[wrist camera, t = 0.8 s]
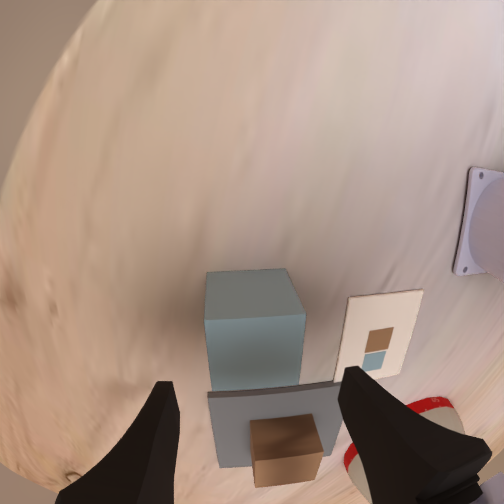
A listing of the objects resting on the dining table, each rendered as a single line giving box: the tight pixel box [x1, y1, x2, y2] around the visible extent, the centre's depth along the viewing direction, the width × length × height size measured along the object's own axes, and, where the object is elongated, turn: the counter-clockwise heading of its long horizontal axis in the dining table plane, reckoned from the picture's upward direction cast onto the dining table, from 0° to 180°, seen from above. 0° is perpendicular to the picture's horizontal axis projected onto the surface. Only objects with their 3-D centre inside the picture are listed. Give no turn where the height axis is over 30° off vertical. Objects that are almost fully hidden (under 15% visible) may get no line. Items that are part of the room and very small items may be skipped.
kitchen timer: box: [344, 397, 465, 504], centre depth 21 cm, size 14×14×15 cm
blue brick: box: [204, 269, 306, 391], centre depth 17 cm, size 4×4×5 cm
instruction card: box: [333, 289, 424, 383], centre depth 21 cm, size 6×8×1 cm
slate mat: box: [208, 381, 343, 468], centre depth 24 cm, size 11×11×1 cm
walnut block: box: [250, 413, 324, 488], centre depth 21 cm, size 5×5×4 cm
